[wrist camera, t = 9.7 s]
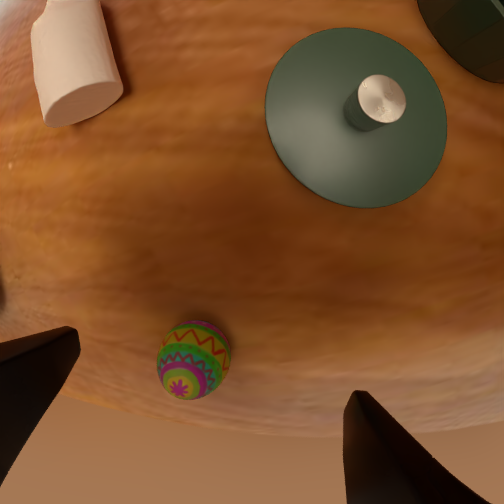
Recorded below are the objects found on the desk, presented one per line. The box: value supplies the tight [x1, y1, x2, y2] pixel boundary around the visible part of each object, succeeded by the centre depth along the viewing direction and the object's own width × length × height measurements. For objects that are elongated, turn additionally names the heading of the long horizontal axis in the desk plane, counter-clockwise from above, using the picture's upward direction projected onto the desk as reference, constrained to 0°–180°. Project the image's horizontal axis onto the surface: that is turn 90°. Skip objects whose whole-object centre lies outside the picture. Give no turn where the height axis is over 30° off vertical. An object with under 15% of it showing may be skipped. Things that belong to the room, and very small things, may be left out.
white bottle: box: [31, 0, 123, 128], centre depth 14 cm, size 6×12×6 cm, turn 20°
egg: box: [157, 320, 231, 400], centre depth 19 cm, size 5×5×6 cm
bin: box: [417, 0, 504, 83], centre depth 9 cm, size 10×10×8 cm
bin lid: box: [265, 28, 447, 208], centre depth 14 cm, size 11×11×5 cm
